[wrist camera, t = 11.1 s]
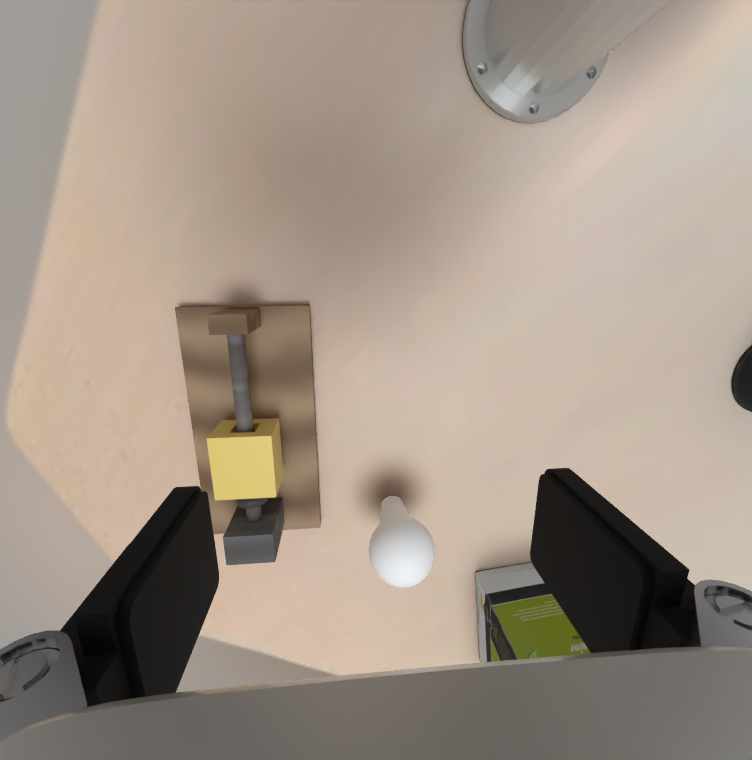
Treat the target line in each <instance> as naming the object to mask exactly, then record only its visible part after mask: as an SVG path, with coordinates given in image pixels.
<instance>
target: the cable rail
mask: <svg viewBox="0 0 752 760" xmlns="http://www.w3.org/2000/svg"><path fill="white" fill-rule="evenodd" d="M175 311H176V318H177V325H178V332H179V339H180V346H181V353H182V360H183V367H184V374H185V380H186V387H187V394H188V401H189V408H190V415H191V422H192V429H193V436H194V443H195V450H196V457H197V464H198V471H199V478H200V485H201V491H206V492H207V494H208V498H209V505H210V513H211V520H212V527H213V534H221V533H225V534H224V536H223V542H224V549H225V557H226V564H227V565H237V564H252V563H267V562H275V560H276V556H277V552H278V548H279V543H280V539H281V535H282V530H288V529H305V528H320V525H321V514H320V494H319V474H318V455H317V435H316V415H315V395H314V375H313V356H312V336H311V316H310V305H274V306H184V307H175ZM273 418H279V423H280V436H281V449H282V462H283V477H282V480H281V484H280V487H279V491H278V494H277V497H273V498H254V499H234V500H215V498H214V490H213V483H212V475H211V468H210V460H209V453H208V445H207V437H208V436H209V435H210V434H211V433H212V431H213V430H214V429H215V428H216V427H217V425H218V424H219V423H220V422H221V421H222V420H236V424H237V433H243V432H254V429H253V419H273Z"/></svg>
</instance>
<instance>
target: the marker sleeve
mask: <svg viewBox="0 0 752 760" xmlns="http://www.w3.org/2000/svg"><path fill="white" fill-rule="evenodd" d="M253 429H254V432H243V433H237V424H236V420H222V421H221V422H220V423H219V424H218V425H217V427H216V428H215V429H214V430H213V431H212V433H211V434H210V435H209V436H208V437H207V445H208V453H209V460H210V468H211V475H212V483H213V490H214V498H215V500H234V499H254V498H273V497H277V494H278V491H279V487H280V484H281V480H282V477H283V462H282V449H281V436H280V423H279V418H273V419H253Z"/></svg>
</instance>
